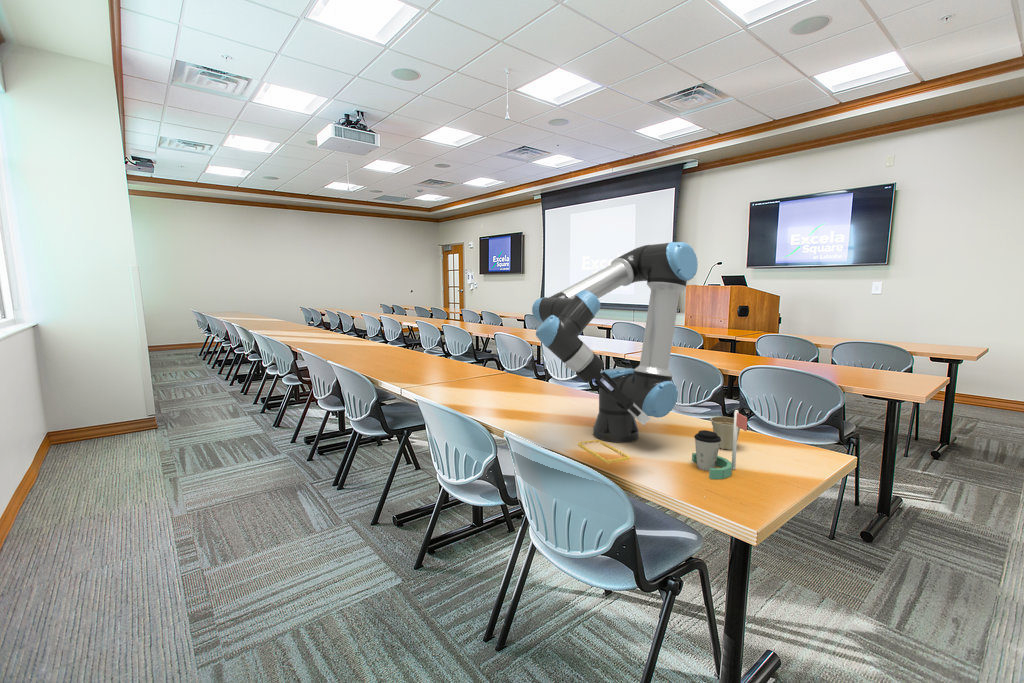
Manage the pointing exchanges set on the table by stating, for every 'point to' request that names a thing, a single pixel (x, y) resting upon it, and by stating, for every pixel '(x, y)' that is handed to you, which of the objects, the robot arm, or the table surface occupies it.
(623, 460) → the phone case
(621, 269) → the robot arm
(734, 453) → the flag
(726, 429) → the flower pot
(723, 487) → the table surface
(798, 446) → the table surface
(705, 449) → the coffee cup
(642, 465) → the table surface
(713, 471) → the cup ring
